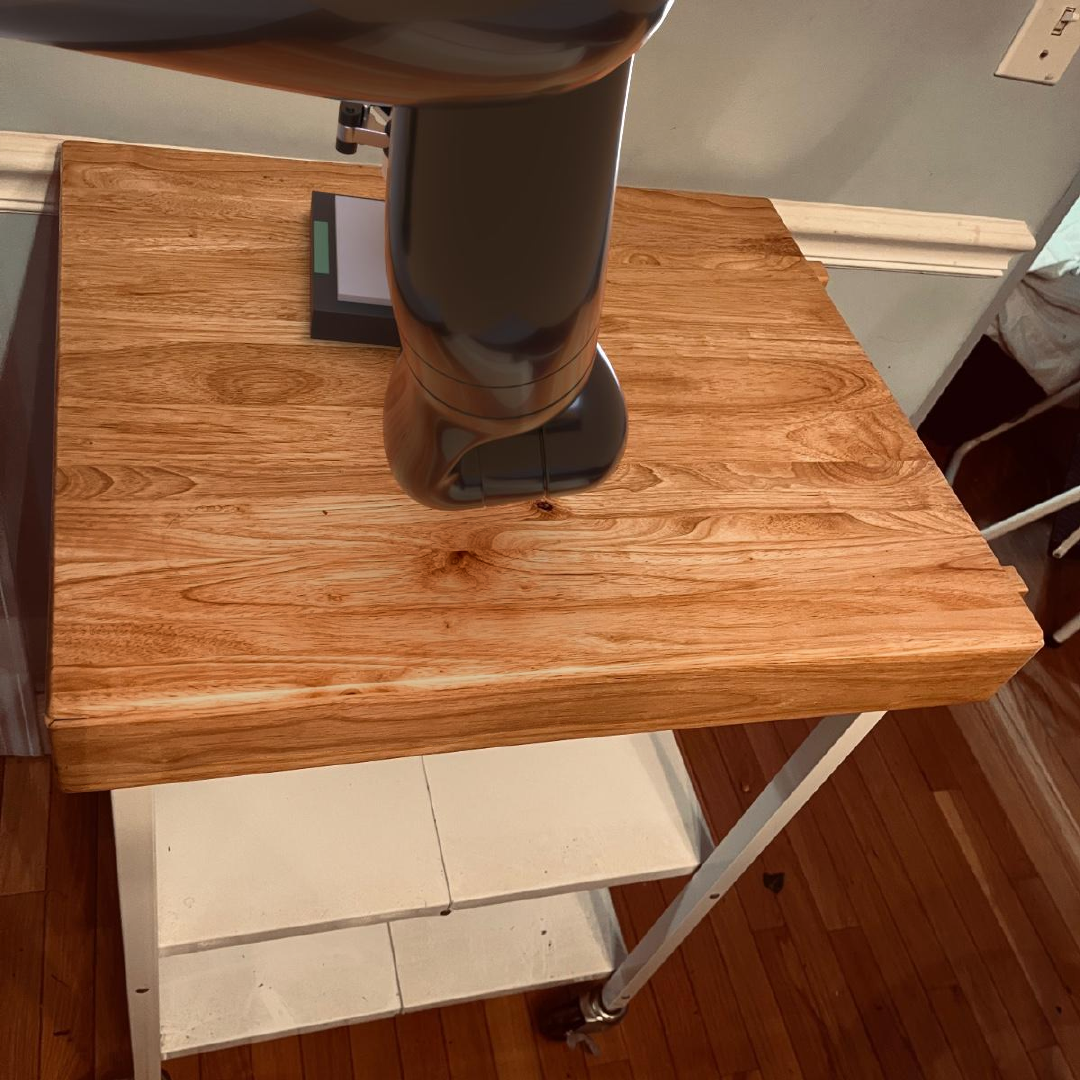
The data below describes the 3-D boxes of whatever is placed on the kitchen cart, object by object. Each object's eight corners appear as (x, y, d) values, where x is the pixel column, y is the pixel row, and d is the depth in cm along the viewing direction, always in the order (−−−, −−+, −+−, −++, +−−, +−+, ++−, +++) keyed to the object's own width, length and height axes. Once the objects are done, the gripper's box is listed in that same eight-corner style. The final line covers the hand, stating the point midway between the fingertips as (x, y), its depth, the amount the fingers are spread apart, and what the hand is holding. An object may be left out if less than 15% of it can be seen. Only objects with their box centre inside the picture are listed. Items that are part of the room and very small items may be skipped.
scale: (310, 338, 71) (313, 302, 69) (309, 218, 80) (312, 182, 78) (513, 358, 75) (522, 324, 73) (491, 241, 84) (499, 208, 82)
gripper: (615, 168, 56) (566, 26, 67) (339, 127, 53) (333, -16, 63) (578, 285, 62) (538, 137, 73) (326, 256, 58) (323, 104, 69)
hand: (443, 66), depth 68 cm, fingers closed on can, 6 cm apart
